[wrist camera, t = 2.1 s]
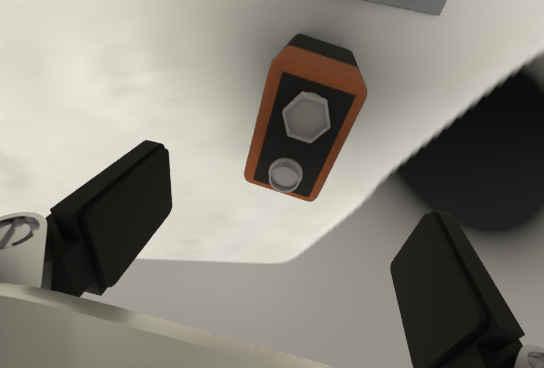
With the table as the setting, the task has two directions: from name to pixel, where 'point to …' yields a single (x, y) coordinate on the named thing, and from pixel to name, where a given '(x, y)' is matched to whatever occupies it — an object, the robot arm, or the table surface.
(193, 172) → the table surface
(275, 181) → the battery
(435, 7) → the mat
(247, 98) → the table surface
